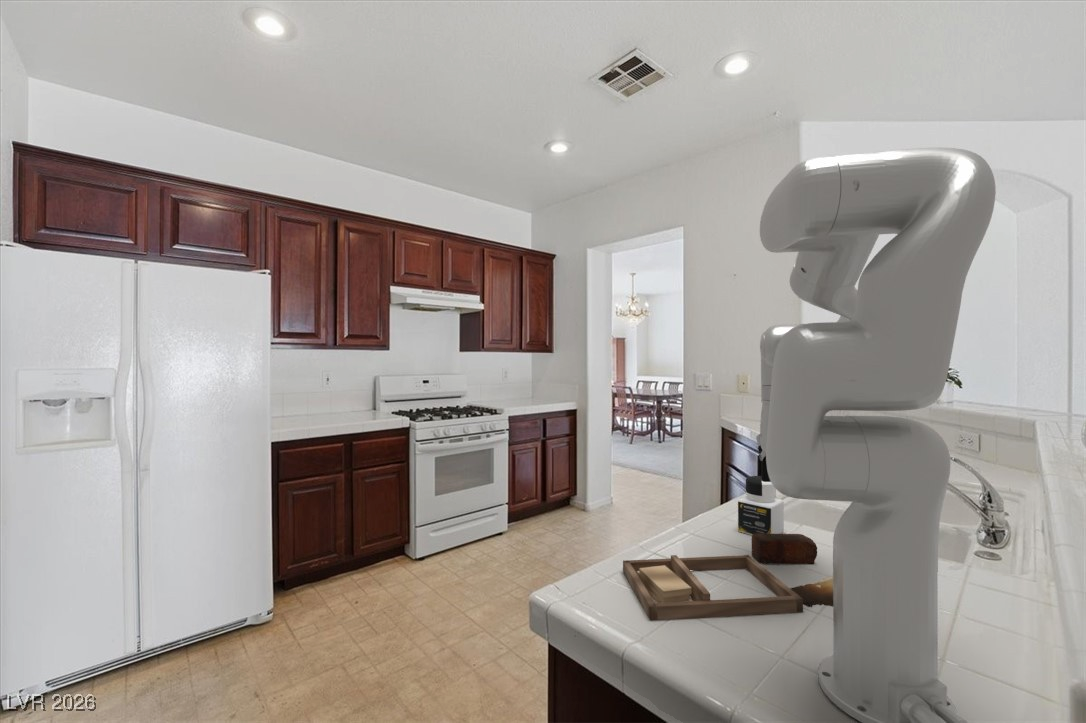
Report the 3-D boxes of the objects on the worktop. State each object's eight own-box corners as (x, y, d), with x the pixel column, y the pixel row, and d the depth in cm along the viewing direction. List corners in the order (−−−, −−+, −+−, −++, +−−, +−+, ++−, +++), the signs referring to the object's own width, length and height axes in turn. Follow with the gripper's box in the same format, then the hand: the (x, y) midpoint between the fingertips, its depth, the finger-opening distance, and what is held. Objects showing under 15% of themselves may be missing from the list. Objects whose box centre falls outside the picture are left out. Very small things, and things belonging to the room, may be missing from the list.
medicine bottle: (737, 532, 105) (737, 477, 104) (751, 524, 109) (751, 472, 109) (771, 540, 99) (770, 483, 99) (784, 532, 104) (784, 477, 104)
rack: (803, 612, 71) (803, 592, 71) (650, 620, 69) (650, 600, 69) (748, 565, 87) (748, 549, 87) (622, 571, 85) (622, 555, 85)
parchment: (888, 568, 86) (887, 563, 86) (945, 593, 77) (945, 587, 77) (772, 588, 80) (772, 583, 80) (820, 617, 71) (820, 611, 71)
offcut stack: (693, 608, 74) (693, 588, 74) (664, 612, 72) (664, 592, 72) (661, 579, 83) (661, 562, 83) (635, 582, 82) (635, 565, 82)
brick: (760, 565, 88) (760, 540, 88) (751, 556, 92) (751, 532, 92) (817, 565, 88) (817, 540, 88) (805, 556, 92) (806, 532, 92)
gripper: (834, 397, 80) (836, 499, 80) (775, 393, 98) (777, 477, 97) (792, 397, 80) (793, 500, 79) (740, 393, 97) (741, 477, 97)
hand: (784, 487), depth 88 cm, fingers open, 9 cm apart
